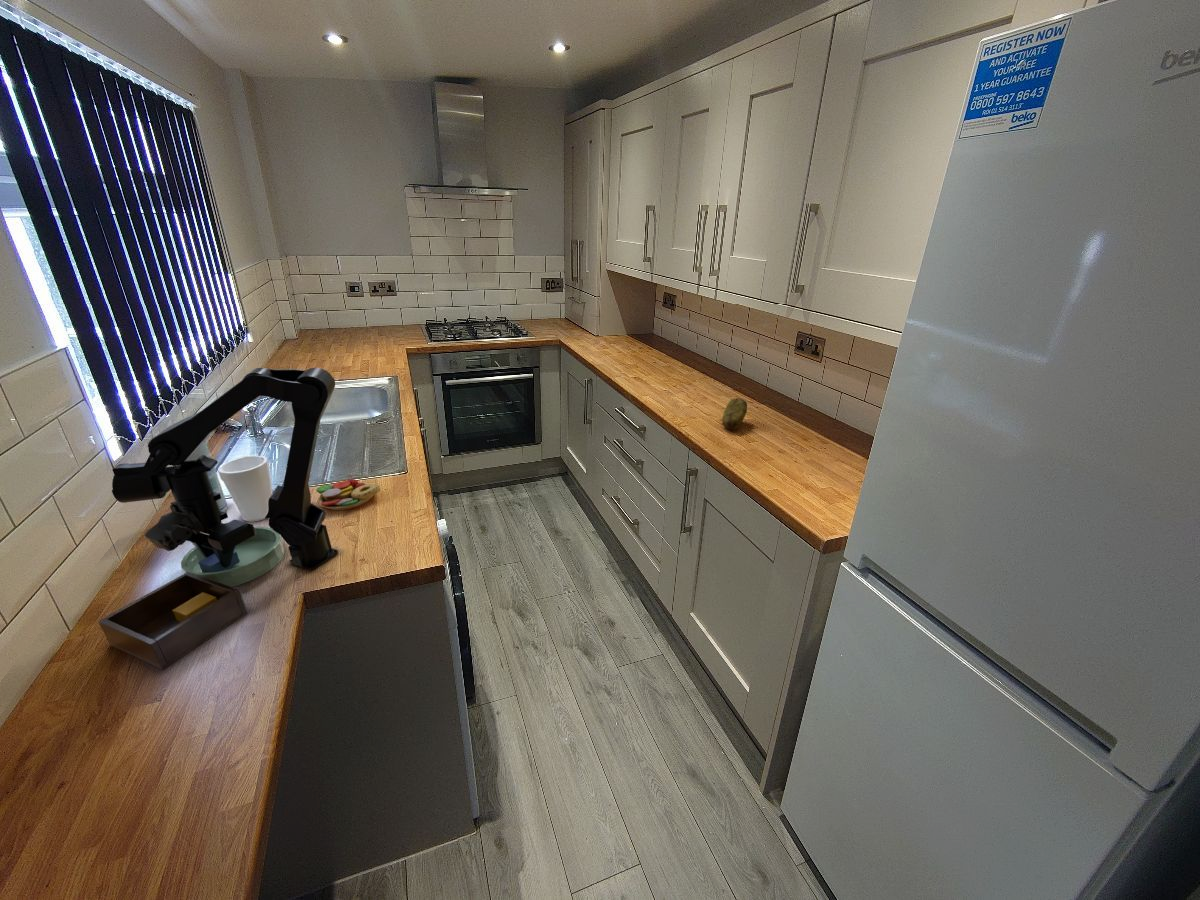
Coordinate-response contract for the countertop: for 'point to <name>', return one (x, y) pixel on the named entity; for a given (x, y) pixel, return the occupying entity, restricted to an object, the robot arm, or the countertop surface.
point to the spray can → (211, 475)
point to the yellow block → (193, 606)
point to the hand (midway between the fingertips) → (220, 564)
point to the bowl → (242, 559)
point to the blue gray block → (216, 563)
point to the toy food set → (346, 494)
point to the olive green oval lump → (734, 413)
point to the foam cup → (248, 485)
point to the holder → (172, 620)
